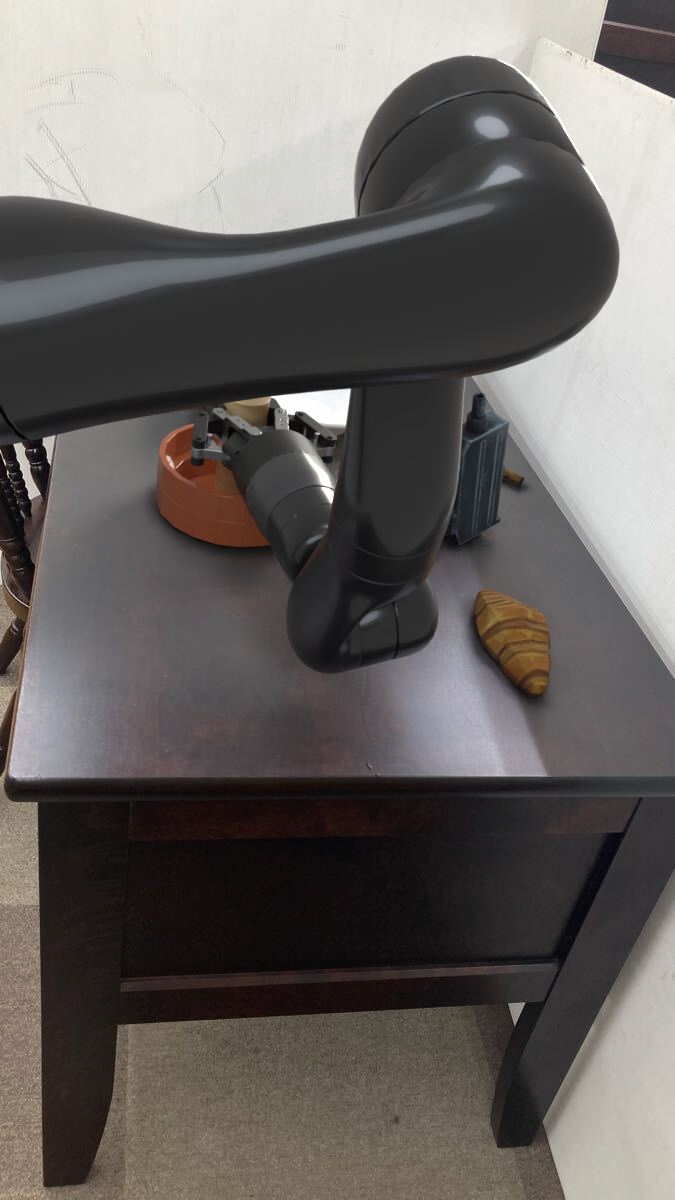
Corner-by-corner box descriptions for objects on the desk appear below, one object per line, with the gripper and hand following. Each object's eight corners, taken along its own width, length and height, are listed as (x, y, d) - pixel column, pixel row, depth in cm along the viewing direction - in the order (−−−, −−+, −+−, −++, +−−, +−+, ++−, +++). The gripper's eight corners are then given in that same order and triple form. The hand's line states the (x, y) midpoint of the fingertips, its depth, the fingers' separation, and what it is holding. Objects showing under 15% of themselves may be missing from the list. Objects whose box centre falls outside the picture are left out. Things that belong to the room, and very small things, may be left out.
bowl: (378, 402, 118) (387, 365, 115) (357, 478, 101) (367, 436, 98) (220, 365, 119) (224, 327, 116) (172, 434, 101) (175, 392, 98)
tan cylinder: (218, 516, 88) (230, 405, 81) (207, 493, 91) (218, 384, 84) (260, 514, 90) (276, 405, 83) (248, 491, 93) (262, 384, 86)
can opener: (523, 484, 107) (526, 476, 106) (513, 490, 105) (516, 481, 105) (461, 452, 111) (464, 444, 110) (451, 457, 109) (454, 449, 109)
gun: (377, 434, 79) (499, 374, 85) (377, 569, 92) (483, 508, 98) (397, 448, 78) (519, 386, 84) (394, 583, 90) (501, 521, 96)
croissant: (571, 702, 77) (591, 659, 74) (499, 705, 75) (517, 660, 72) (512, 604, 87) (528, 562, 84) (448, 604, 85) (461, 561, 82)
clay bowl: (173, 556, 83) (178, 501, 79) (142, 472, 94) (145, 421, 90) (325, 547, 89) (336, 496, 85) (279, 469, 99) (287, 420, 96)
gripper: (376, 452, 75) (311, 366, 87) (211, 455, 70) (166, 363, 82) (360, 526, 80) (300, 435, 92) (203, 535, 74) (161, 436, 86)
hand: (237, 401), depth 87 cm, fingers closed on tan cylinder, 4 cm apart
